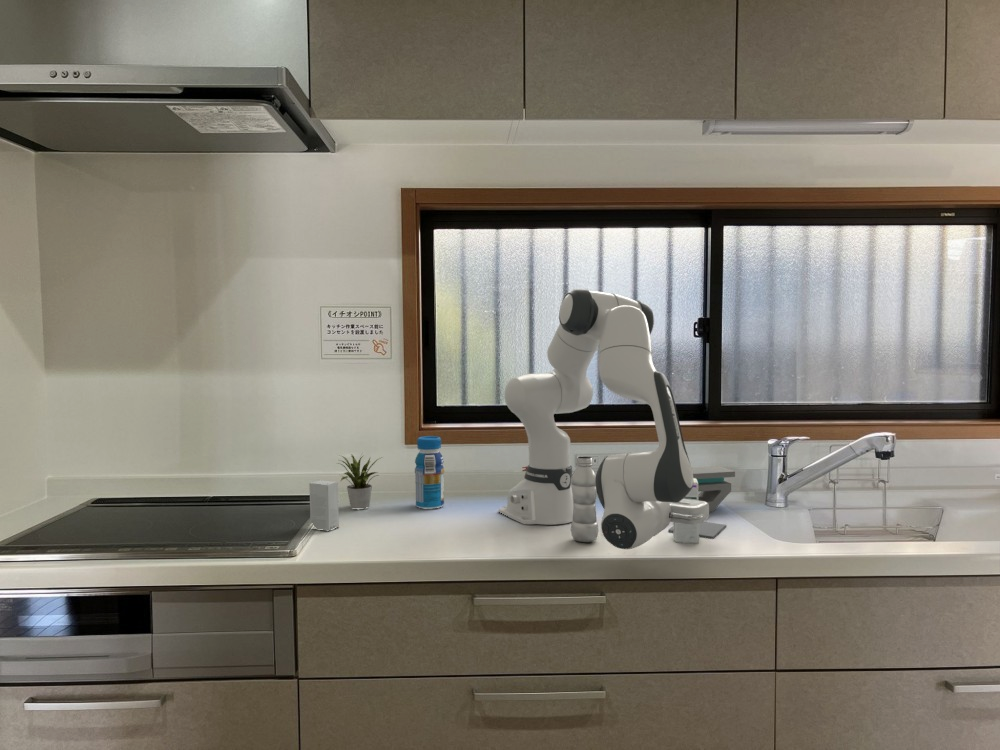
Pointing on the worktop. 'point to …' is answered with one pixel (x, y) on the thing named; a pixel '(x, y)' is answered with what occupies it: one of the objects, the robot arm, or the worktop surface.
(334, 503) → the skincare box
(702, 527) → the mat
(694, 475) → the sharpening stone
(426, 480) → the beverage bottle
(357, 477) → the house plant
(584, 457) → the plastic bottle
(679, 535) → the syrup box
